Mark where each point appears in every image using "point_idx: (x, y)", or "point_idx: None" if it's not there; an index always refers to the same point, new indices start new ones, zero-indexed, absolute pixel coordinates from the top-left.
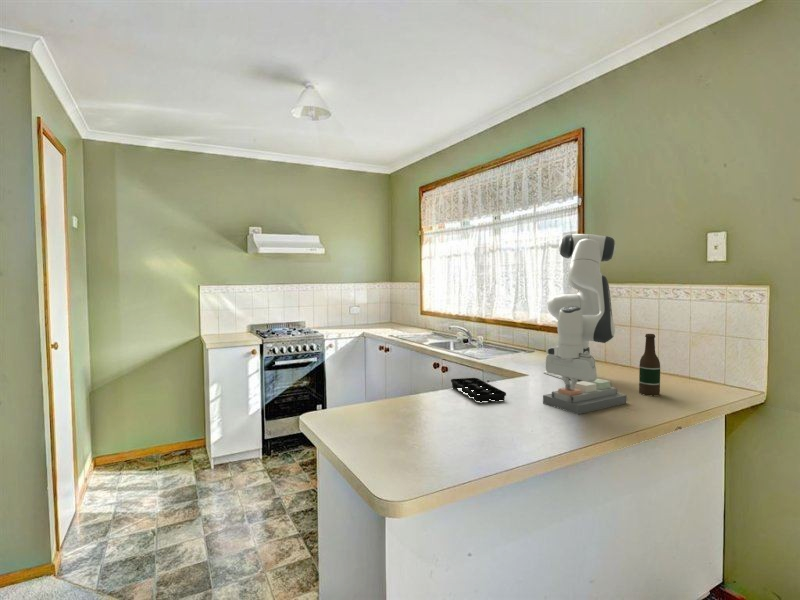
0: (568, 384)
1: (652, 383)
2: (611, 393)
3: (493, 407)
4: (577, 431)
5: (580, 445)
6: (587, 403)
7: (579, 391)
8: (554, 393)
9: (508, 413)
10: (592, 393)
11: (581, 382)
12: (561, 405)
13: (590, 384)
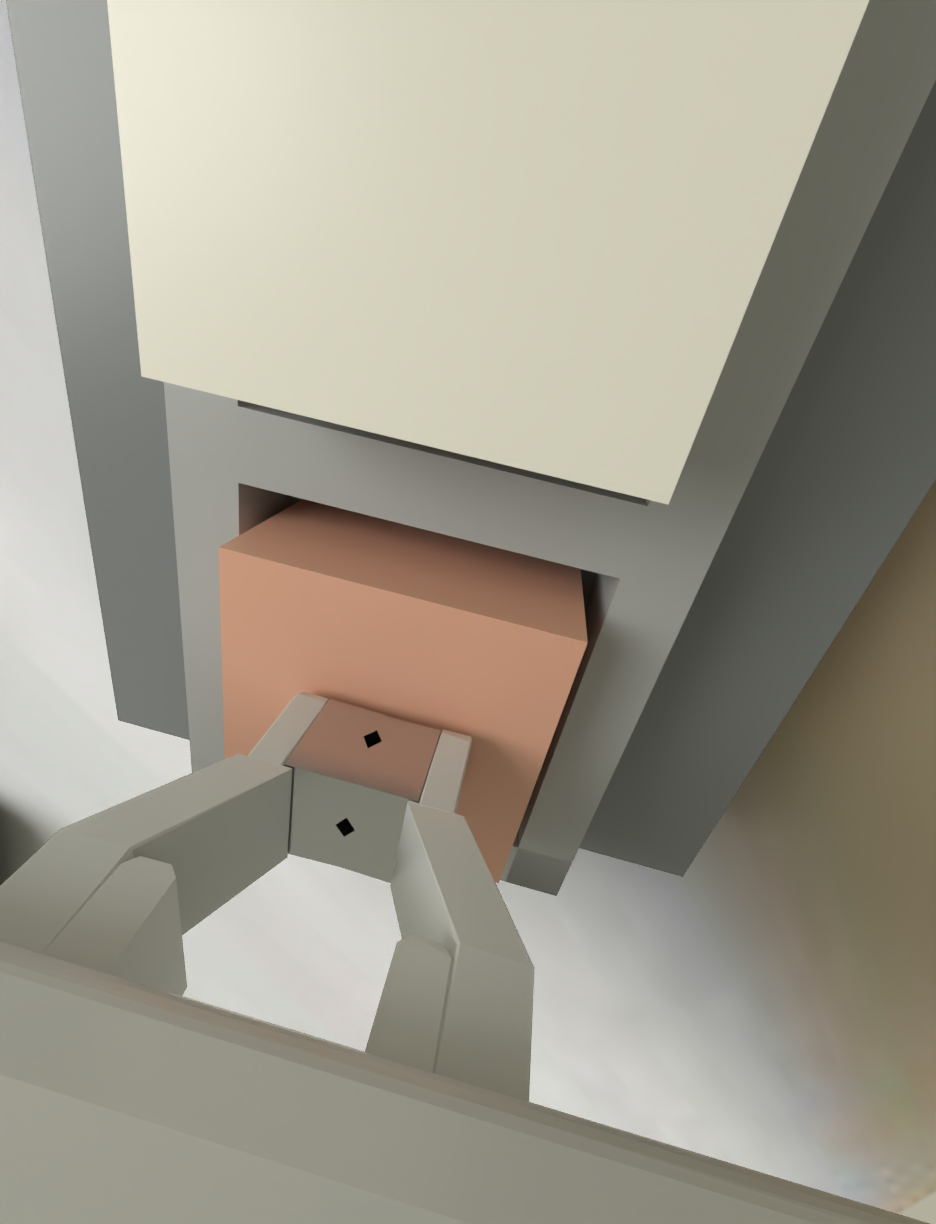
0: (321, 843)
1: None
2: None
3: None
4: (801, 1087)
5: (878, 1207)
6: (762, 741)
7: (566, 681)
8: None
9: (265, 993)
10: (795, 365)
11: (264, 27)
12: None
13: (762, 82)
